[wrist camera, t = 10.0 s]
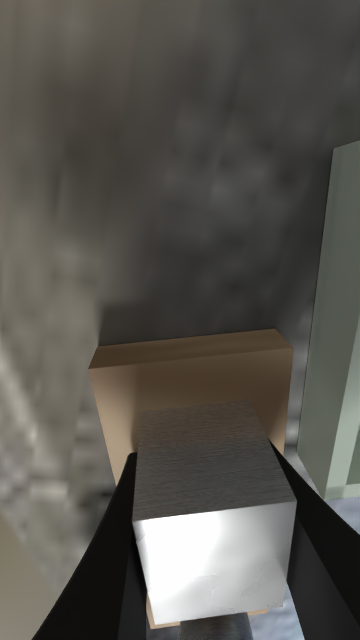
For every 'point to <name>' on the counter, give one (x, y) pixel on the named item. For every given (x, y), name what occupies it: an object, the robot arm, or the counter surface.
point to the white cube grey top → (210, 512)
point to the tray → (336, 342)
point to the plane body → (189, 386)
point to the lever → (217, 628)
